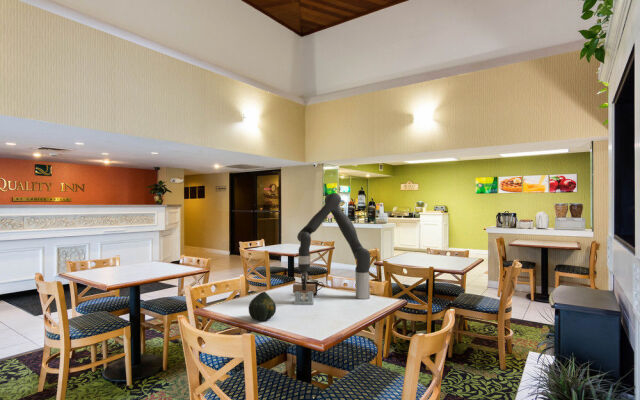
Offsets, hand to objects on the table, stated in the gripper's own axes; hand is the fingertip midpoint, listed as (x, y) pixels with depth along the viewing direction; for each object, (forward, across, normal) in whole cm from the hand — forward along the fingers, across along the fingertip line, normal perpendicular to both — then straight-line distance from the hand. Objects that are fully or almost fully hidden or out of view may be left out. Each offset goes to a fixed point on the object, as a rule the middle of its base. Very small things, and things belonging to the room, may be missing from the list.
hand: (304, 289), depth 228 cm
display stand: (+8, 0, 0) cm, 8 cm away
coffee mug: (+9, +20, -5) cm, 22 cm away
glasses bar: (+2, 0, 0) cm, 2 cm away
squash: (+9, -34, +20) cm, 40 cm away
